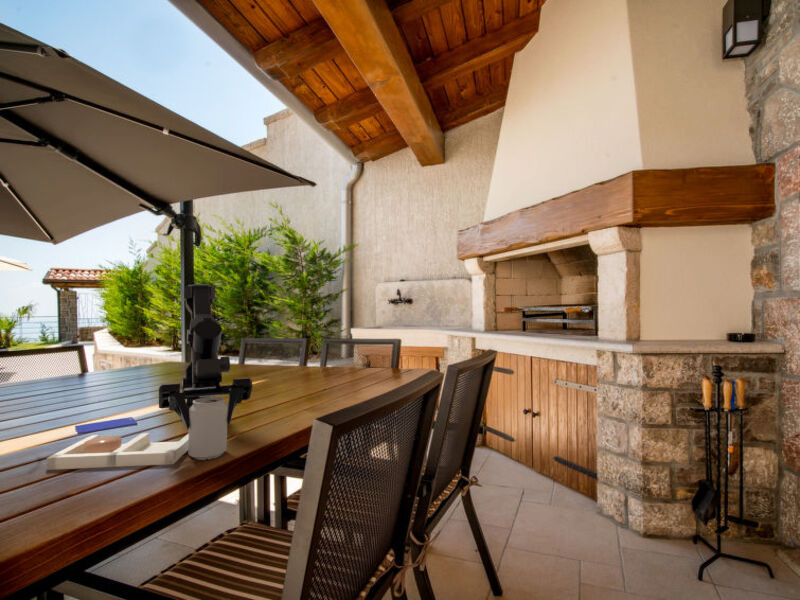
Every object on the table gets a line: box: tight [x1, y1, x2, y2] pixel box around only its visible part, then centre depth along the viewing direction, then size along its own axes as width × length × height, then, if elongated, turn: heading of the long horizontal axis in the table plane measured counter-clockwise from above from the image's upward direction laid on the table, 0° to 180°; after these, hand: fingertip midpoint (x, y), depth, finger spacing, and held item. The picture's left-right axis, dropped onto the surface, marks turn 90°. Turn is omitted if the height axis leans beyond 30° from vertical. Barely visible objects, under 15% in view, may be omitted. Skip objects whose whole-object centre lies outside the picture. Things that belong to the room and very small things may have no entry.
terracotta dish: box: [84, 435, 123, 454], centre depth 85 cm, size 6×6×3 cm
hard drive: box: [74, 416, 138, 435], centre depth 105 cm, size 2×8×12 cm
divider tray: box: [46, 432, 189, 471], centre depth 85 cm, size 14×23×3 cm, turn 98°
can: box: [187, 396, 228, 461], centre depth 86 cm, size 8×8×12 cm
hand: (208, 425), depth 85 cm, fingers open, 8 cm apart
